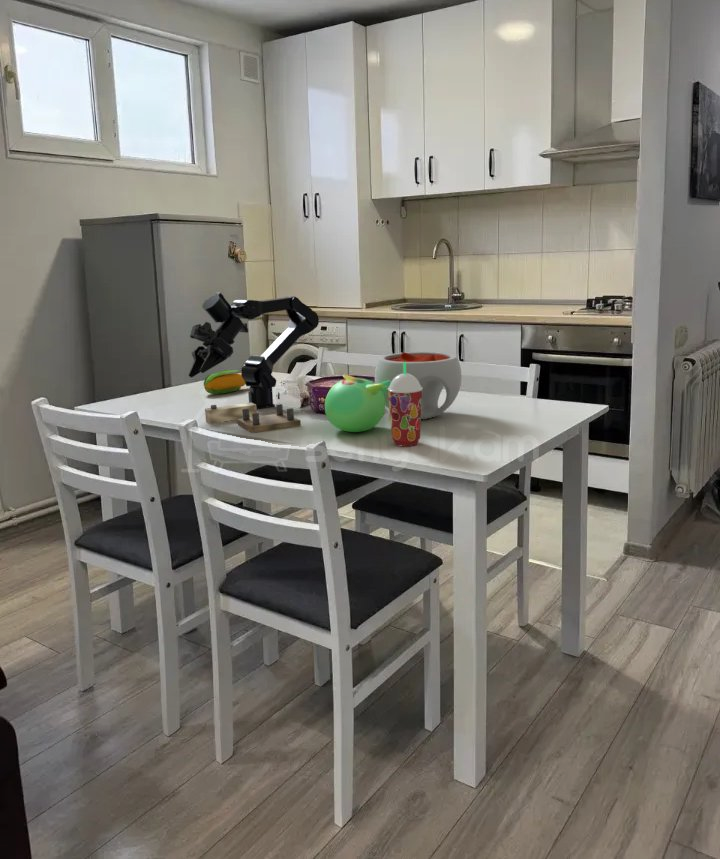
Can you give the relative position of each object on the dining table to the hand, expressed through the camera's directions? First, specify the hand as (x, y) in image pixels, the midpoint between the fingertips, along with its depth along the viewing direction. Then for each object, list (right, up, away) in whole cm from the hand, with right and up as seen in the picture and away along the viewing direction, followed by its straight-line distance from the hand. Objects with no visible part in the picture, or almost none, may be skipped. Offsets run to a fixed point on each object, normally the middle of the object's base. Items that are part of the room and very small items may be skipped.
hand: (195, 374), depth 216 cm
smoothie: (+58, -19, -31) cm, 68 cm away
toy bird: (+46, -16, -16) cm, 51 cm away
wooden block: (+10, -13, +3) cm, 17 cm away
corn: (+1, -3, +47) cm, 47 cm away
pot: (+63, -12, -1) cm, 64 cm away
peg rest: (+21, -14, -6) cm, 26 cm away
